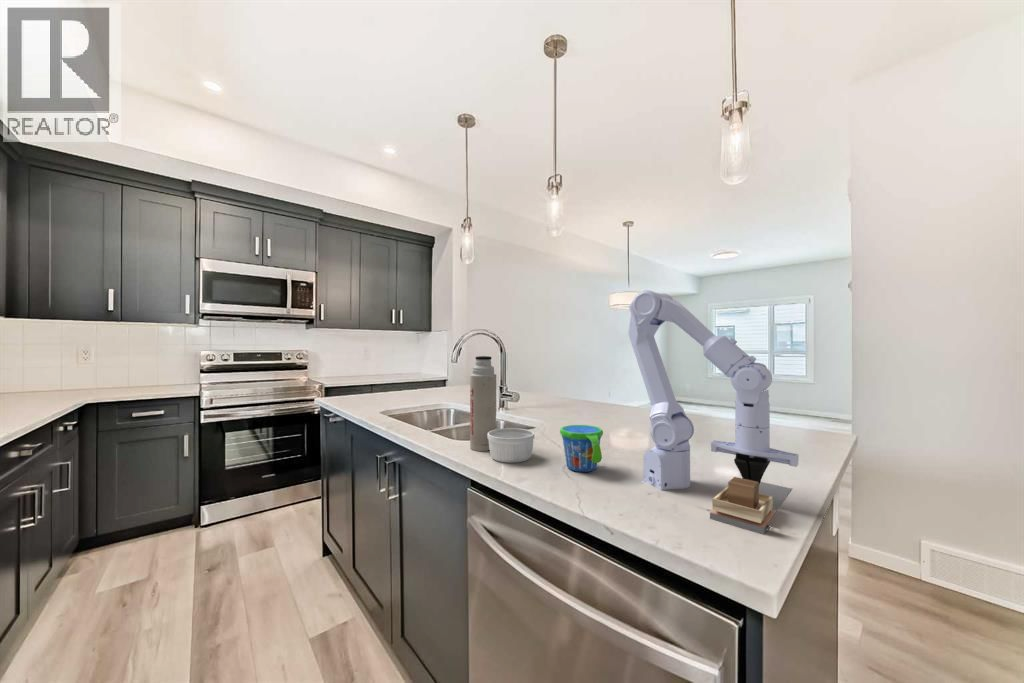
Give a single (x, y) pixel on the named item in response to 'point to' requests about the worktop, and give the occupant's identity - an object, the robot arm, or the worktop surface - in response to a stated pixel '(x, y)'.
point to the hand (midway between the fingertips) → (752, 494)
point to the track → (778, 498)
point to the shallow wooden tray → (743, 507)
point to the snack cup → (582, 447)
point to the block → (743, 492)
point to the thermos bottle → (482, 403)
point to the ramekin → (510, 444)
